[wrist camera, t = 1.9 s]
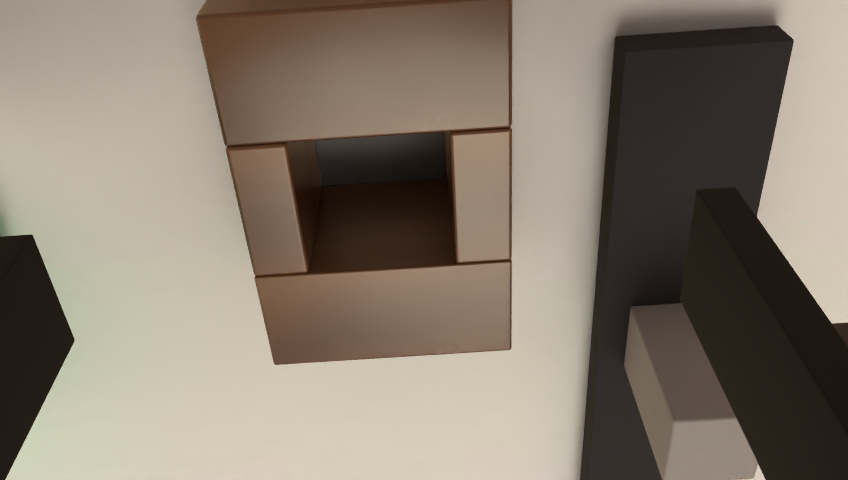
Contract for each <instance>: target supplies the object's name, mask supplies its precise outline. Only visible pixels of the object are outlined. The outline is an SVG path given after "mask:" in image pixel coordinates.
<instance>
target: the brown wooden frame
mask: <svg viewBox="0 0 848 480" xmlns="http://www.w3.org/2000/svg"><path fill="white" fill-rule="evenodd" d="M196 21H197V25H198V30H199V34H200V38H201V43H202V47H203V52H204V56H205V60H206V65H207V69H208V74H209V78H210V82H211V87H212V91H213V96H214V100H215V104H216V109H217V113H218V118H219V122H220V127H221V131H222V135H223V140H224V143H225V145H226V146H227V147H226V153H227V157H228V162H229V166H230V170H231V175H232V179H233V184H234V188H235V192H236V197H237V201H238V206H239V210H240V214H241V219H242V223H243V228H244V232H245V236H246V241H247V245H248V250H249V254H250V258H251V263H252V267H253V272H254V274H255V282H256V287H257V291H258V295H259V300H260V304H261V309H262V313H263V317H264V322H265V326H266V331H267V335H268V339H269V344H270V348H271V353H272V357H273V361H274V364H275V365H279V364H295V363H311V362H327V361H342V360H358V359H374V358H390V357H405V356H421V355H437V354H453V353H468V352H484V351H500V350H510V349H511V293H512V261H511V256H512V129H511V124H512V0H206V2H205V3H204V5H203V7H202V8H201V10H200V11H199V13H198V15H197V17H196ZM433 132H445V147H446V167H447V178H444V179H429V180H414V181H399V182H384V183H369V184H353V185H338V186H323V187H322V181H321V175H320V168H319V162H318V155H317V149H316V142H315V140H328V139H343V138H358V137H373V136H388V135H403V134H418V133H433Z"/></svg>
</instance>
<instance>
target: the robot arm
mask: <svg viewBox="0 0 848 480" xmlns="http://www.w3.org/2000/svg"><path fill="white" fill-rule="evenodd" d="M680 301H681V303H682V305H683V307H684V310H685V312H686V314H687V316H688V318H689V320H690V322H691V324H692V326H693V328H694V330H695V333H696V335H697V337H698V339H699V341H700V343H701V345H702V347H703V349H704V351H705V354H706V356H707V358H708V360H709V362H710V364H711V366H712V368H713V370H714V372H715V374H716V377H717V379H718V381H719V383H720V385H721V387H722V389H723V391H724V393H725V395H726V397H727V400H728V402H729V404H730V406H731V408H732V410H733V412H734V414H735V416H736V418H737V420H738V423H739V425H740V427H741V429H742V431H743V433H744V435H745V437H746V439H747V441H748V444H749V446H750V448H751V450H752V452H753V454H754V456H755V458H756V460H757V462H758V464H759V467H760V469H761V471H762V473H763V475H764V477H765V479H766V480H848V323H835V324H832V323H831V322H830V321H829V319H828V318H827V316H826V315H825V313H824V312H823V311H822V309H821V308H820V306H819V305H818V304H817V302H816V301H815V299H814V298H813V296H812V295H811V294H810V292H809V291H808V289H807V288H806V286H805V285H804V284H803V282H802V281H801V279H800V278H799V277H798V275H797V274H796V272H795V271H794V269H793V268H792V267H791V265H790V264H789V262H788V261H787V259H786V258H785V257H784V255H783V254H782V252H781V251H780V250H779V248H778V247H777V245H776V244H775V242H774V241H773V240H772V238H771V237H770V235H769V234H768V232H767V231H766V230H765V228H764V227H763V225H762V224H761V222H760V221H759V220H758V218H757V217H756V215H755V214H754V213H753V211H752V210H751V208H750V207H749V205H748V204H747V203H746V201H745V200H744V198H743V197H742V195H741V194H740V193H739V191H738V190H737V188H736V187H728V188H713V189H698V190H696V196H695V203H694V209H693V216H692V223H691V229H690V236H689V242H688V249H687V256H686V262H685V269H684V276H683V282H682V289H681V295H680ZM74 341H75V340H74V337H73V335H72V332H71V330H70V327H69V325H68V322H67V320H66V317H65V315H64V312H63V310H62V307H61V305H60V302H59V300H58V297H57V295H56V292H55V290H54V287H53V285H52V282H51V280H50V277H49V275H48V272H47V270H46V267H45V265H44V262H43V260H42V257H41V255H40V252H39V250H38V248H37V245H36V243H35V240H34V238H33V235H20V236H5V237H0V480H5V479H6V477H7V475H8V473H9V471H10V469H11V467H12V465H13V463H14V461H15V459H16V457H17V455H18V453H19V451H20V449H21V447H22V445H23V443H24V441H25V439H26V437H27V435H28V433H29V431H30V429H31V427H32V425H33V423H34V421H35V419H36V417H37V415H38V413H39V411H40V409H41V407H42V405H43V403H44V401H45V399H46V397H47V395H48V393H49V391H50V389H51V387H52V385H53V383H54V381H55V379H56V377H57V375H58V373H59V371H60V369H61V367H62V365H63V363H64V361H65V359H66V357H67V355H68V353H69V351H70V349H71V347H72V345H73V343H74Z"/></svg>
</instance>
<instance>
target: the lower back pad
mask: <svg viewBox="0 0 848 480" xmlns="http://www.w3.org/2000/svg"><path fill="white" fill-rule="evenodd" d="M793 42H794V41H793V39H792V38H791V37H790V36H789V35H788V34H787V33H785V32H784V31H783V30H782V29H781V28H780V27H779V26H765V27H750V28H735V29H720V30H706V31H691V32H676V33H661V34H647V35H632V36H617V37H616V38H615V50H614V62H613V75H612V87H611V100H610V113H609V125H608V138H607V151H606V163H605V176H604V188H603V201H602V214H601V226H600V239H599V252H598V264H597V277H596V289H595V302H594V315H593V327H592V340H591V352H590V365H589V378H588V390H587V403H586V416H585V428H584V441H583V453H582V466H581V479H580V480H736V479H752V478H754V476H755V472H756V469H757V465H758V462H757V460H756V458H755V456H754V454H753V452H752V450H751V448H750V446H749V444H748V441H747V439H746V437H745V435H744V433H743V431H742V429H741V427H740V425H739V423H738V420H737V418H736V416H735V414H734V412H733V410H732V408H731V406H730V404H729V402H728V400H727V397H726V395H725V393H724V391H723V389H722V387H721V385H720V383H719V381H718V379H717V377H716V374H715V372H714V370H713V368H712V366H711V364H710V362H709V360H708V358H707V356H706V354H705V351H704V349H703V347H702V345H701V343H700V341H699V339H698V337H697V335H696V333H695V330H694V328H693V326H692V324H691V322H690V320H689V318H688V316H687V314H686V312H685V310H684V307H683V305H682V303H681V301H680V295H681V289H682V282H683V276H684V269H685V262H686V256H687V249H688V242H689V236H690V229H691V223H692V216H693V209H694V203H695V196H696V190H698V189H713V188H728V187H736V188H737V190H738V191H739V193H740V194H741V195H742V197H743V198H744V200H745V201H746V203H747V204H748V205H749V207H750V208H751V210H752V211H753V213H754V214H755V215H756V217H757V212H758V207H759V203H760V198H761V193H762V188H763V184H764V179H765V174H766V170H767V165H768V160H769V155H770V151H771V146H772V141H773V136H774V132H775V127H776V122H777V117H778V113H779V108H780V103H781V99H782V94H783V89H784V84H785V80H786V75H787V70H788V65H789V61H790V56H791V51H792V47H793Z"/></svg>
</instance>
